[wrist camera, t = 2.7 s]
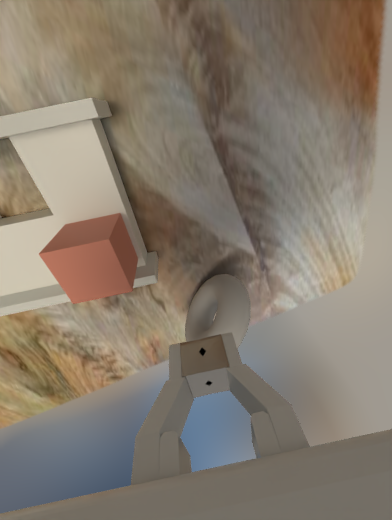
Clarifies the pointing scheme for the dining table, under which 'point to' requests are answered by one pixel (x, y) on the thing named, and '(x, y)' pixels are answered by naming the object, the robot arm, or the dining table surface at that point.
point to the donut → (219, 309)
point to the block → (92, 258)
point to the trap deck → (61, 197)
